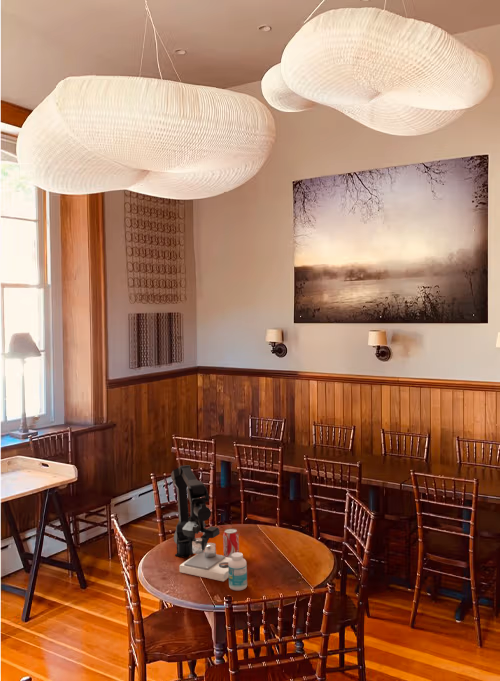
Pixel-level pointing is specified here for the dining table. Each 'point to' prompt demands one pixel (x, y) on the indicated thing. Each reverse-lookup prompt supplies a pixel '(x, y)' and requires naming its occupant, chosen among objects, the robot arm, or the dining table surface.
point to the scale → (207, 566)
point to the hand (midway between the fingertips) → (198, 549)
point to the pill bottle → (237, 572)
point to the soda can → (230, 542)
